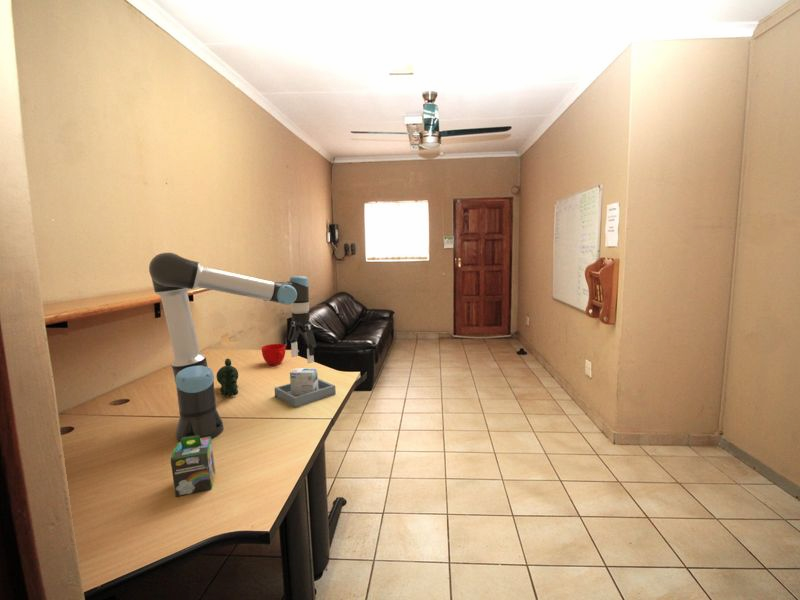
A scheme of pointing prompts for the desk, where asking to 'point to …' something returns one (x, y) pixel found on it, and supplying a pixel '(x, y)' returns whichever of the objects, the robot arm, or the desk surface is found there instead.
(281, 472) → the desk surface
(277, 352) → the ceramic cup
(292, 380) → the light bulb box
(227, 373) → the toy figurine
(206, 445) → the chalk box
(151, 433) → the desk surface
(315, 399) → the gray tray
